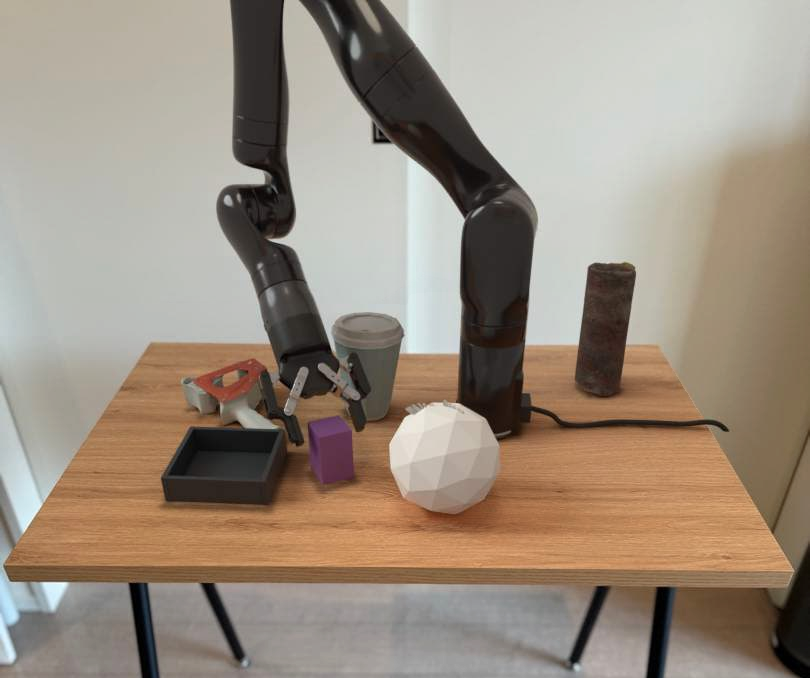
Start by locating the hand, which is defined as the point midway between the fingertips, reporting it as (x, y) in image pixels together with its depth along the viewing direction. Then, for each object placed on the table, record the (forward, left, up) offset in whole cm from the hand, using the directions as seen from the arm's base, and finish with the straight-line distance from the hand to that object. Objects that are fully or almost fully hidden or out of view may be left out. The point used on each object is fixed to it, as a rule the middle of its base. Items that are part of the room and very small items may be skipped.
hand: (331, 437), depth 106 cm
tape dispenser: (+17, -16, -6) cm, 24 cm away
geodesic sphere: (-15, +5, -6) cm, 17 cm away
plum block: (0, 0, -6) cm, 6 cm away
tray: (+14, +2, -6) cm, 15 cm away
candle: (-39, -30, -6) cm, 49 cm away
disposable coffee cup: (-3, -19, -6) cm, 20 cm away
